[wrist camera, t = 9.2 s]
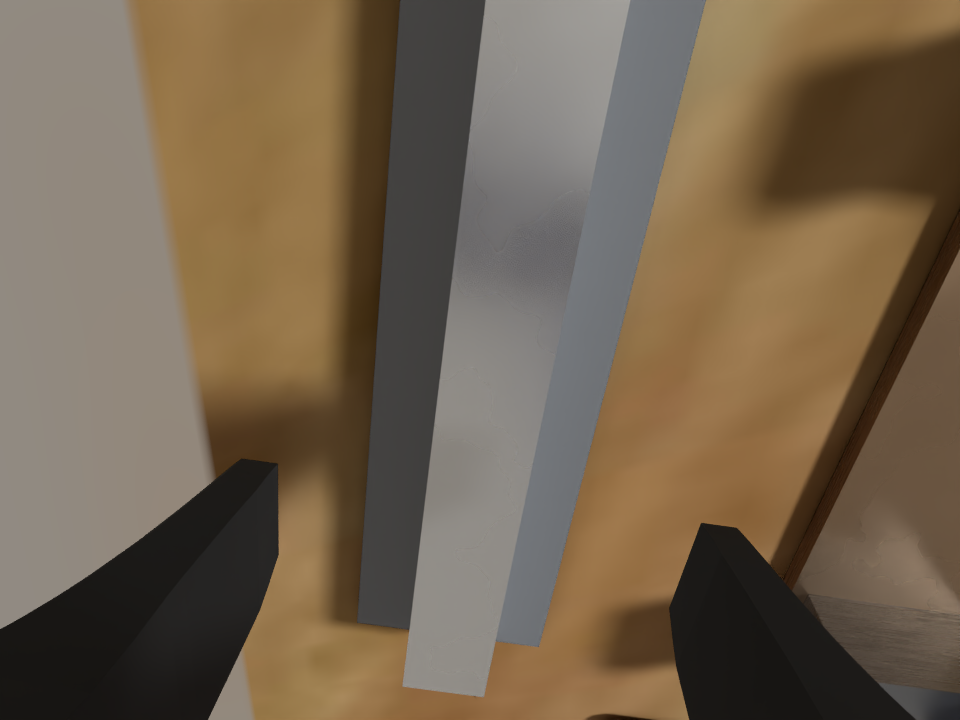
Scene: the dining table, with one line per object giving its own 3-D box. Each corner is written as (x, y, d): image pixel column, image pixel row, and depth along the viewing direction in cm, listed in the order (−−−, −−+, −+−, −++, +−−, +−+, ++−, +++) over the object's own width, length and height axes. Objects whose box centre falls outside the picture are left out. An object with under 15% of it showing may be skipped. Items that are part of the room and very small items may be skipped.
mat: (538, 634, 23) (538, 647, 23) (360, 610, 23) (357, 622, 22) (730, -120, 13) (737, -124, 13) (416, -170, 13) (412, -175, 12)
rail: (487, 630, 22) (483, 697, 20) (413, 620, 22) (402, 686, 20) (633, -104, 13) (655, -123, 11) (505, -124, 13) (503, -146, 11)
